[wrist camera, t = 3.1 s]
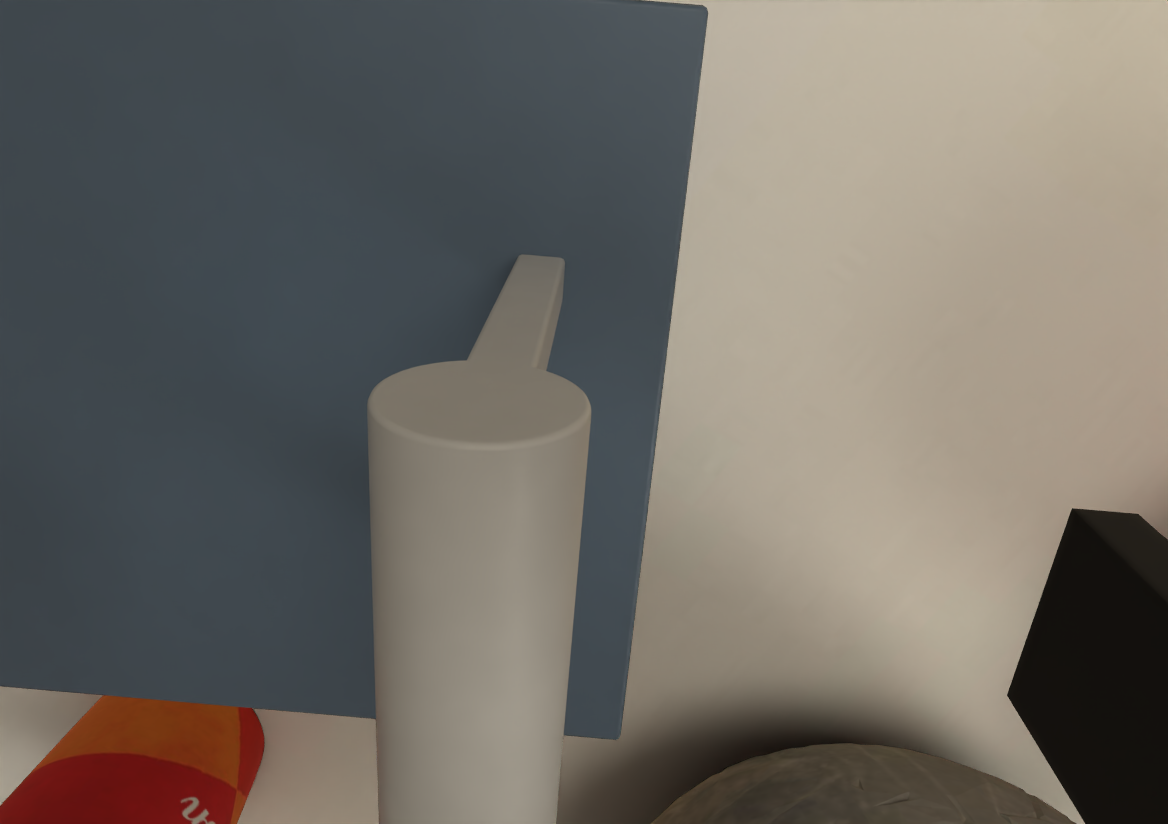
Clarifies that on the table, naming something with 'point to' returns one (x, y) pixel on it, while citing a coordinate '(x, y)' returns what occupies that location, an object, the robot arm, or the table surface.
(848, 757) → the bowl
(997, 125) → the table surface
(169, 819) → the coffee cup
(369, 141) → the box lid
